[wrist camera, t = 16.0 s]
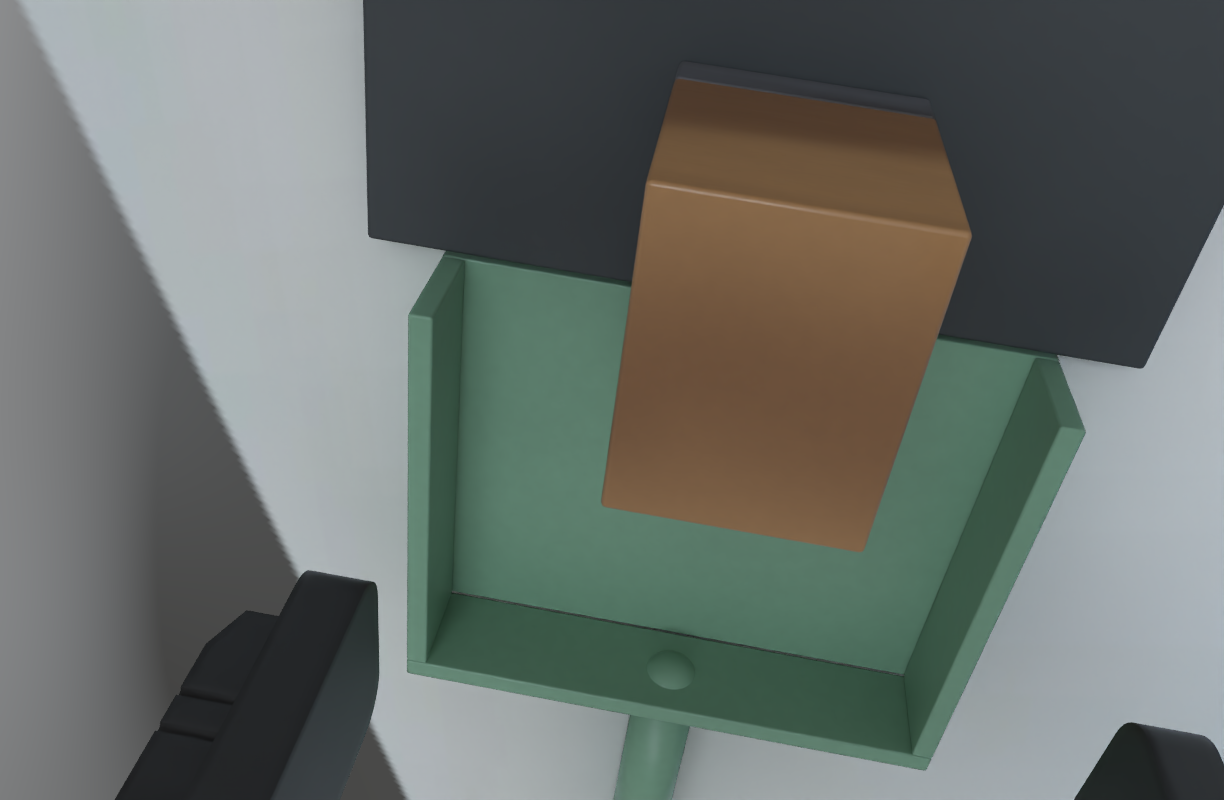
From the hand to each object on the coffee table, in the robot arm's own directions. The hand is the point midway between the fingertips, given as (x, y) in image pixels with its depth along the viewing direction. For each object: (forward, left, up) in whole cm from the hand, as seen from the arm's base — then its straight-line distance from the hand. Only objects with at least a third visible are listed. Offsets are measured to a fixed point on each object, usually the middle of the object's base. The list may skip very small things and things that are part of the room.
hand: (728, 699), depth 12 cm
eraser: (0, 0, -11) cm, 11 cm away
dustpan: (+7, -9, -12) cm, 17 cm away
